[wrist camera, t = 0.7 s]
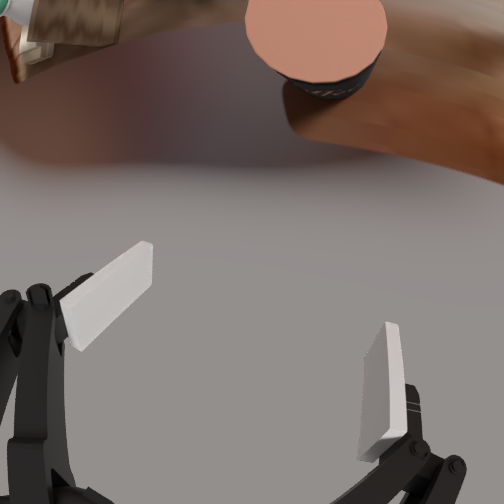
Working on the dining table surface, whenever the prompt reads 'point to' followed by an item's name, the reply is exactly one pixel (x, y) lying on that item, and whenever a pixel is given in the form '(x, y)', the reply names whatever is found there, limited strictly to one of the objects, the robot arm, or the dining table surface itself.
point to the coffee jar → (318, 41)
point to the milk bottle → (17, 10)
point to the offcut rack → (69, 26)
